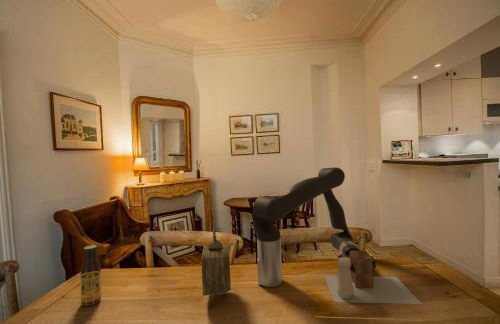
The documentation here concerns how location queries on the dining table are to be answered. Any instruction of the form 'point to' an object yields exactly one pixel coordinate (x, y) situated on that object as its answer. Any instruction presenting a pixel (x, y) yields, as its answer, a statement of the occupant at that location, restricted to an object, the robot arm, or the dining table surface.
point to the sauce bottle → (90, 277)
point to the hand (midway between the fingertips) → (363, 270)
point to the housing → (362, 269)
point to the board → (376, 292)
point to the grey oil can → (215, 269)
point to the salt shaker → (344, 279)
